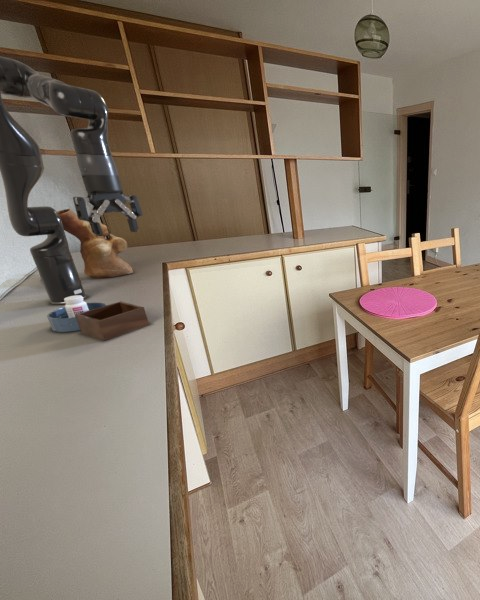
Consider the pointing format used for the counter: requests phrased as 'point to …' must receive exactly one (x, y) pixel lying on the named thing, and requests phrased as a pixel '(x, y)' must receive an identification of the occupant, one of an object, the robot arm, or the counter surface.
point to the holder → (112, 320)
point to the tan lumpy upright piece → (96, 247)
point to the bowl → (67, 319)
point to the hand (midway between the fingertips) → (117, 233)
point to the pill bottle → (75, 305)
